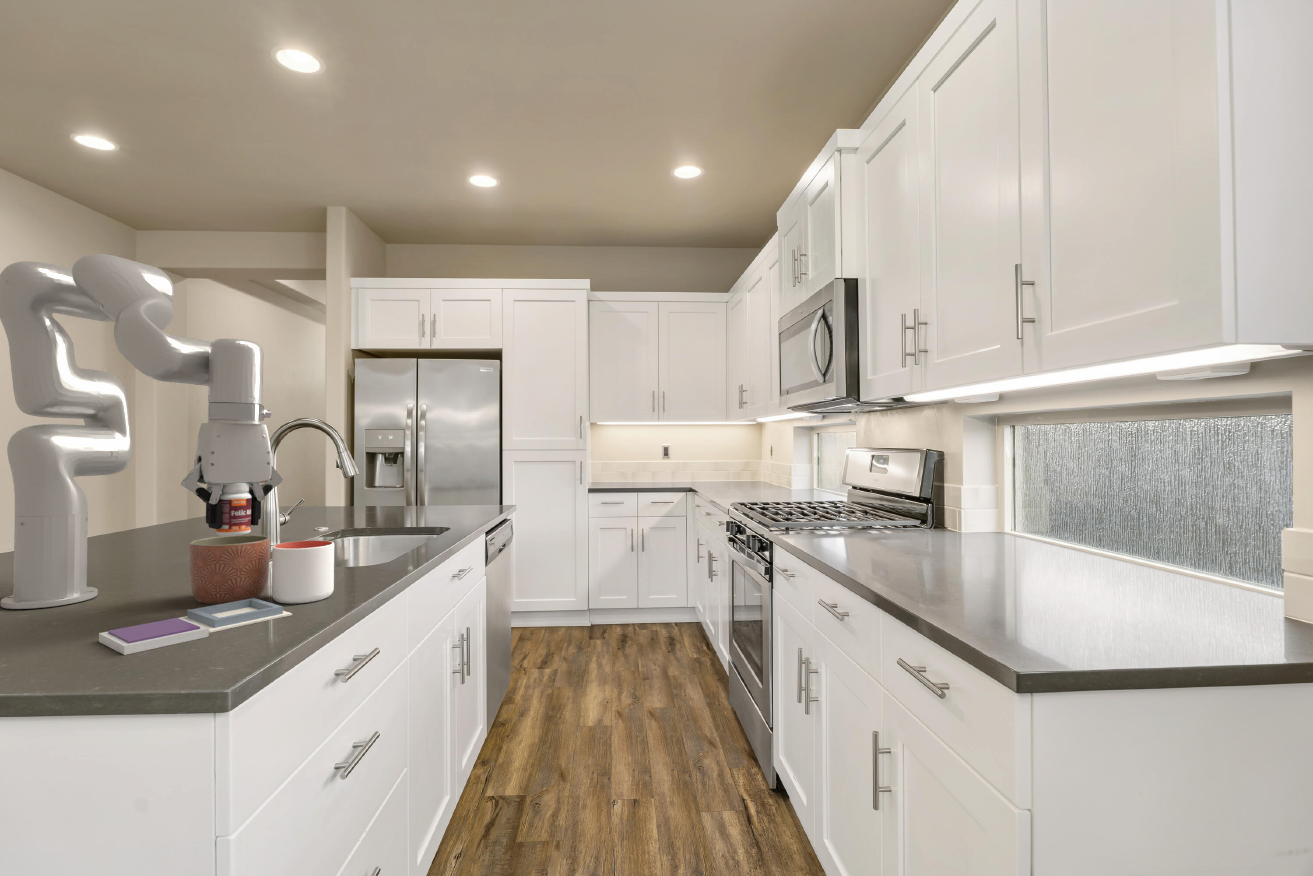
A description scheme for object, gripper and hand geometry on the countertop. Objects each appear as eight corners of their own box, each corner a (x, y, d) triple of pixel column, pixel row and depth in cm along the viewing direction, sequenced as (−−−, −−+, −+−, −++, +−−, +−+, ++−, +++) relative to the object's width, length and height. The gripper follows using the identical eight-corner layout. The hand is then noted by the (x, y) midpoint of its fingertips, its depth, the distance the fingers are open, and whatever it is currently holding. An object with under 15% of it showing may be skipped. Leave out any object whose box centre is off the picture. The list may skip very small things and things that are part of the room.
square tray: (177, 619, 103) (177, 610, 103) (257, 604, 113) (257, 596, 113) (210, 632, 96) (210, 622, 96) (292, 615, 106) (292, 606, 106)
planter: (192, 612, 108) (193, 547, 108) (185, 598, 117) (185, 538, 117) (276, 600, 116) (276, 540, 116) (263, 588, 125) (263, 533, 126)
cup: (273, 595, 120) (274, 542, 120) (333, 590, 125) (334, 539, 125) (269, 608, 111) (270, 550, 111) (333, 601, 116) (334, 546, 116)
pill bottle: (233, 536, 102) (234, 484, 102) (208, 535, 103) (209, 483, 103) (258, 532, 106) (259, 482, 106) (234, 531, 107) (235, 481, 107)
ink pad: (98, 641, 92) (99, 631, 92) (180, 625, 100) (180, 615, 100) (124, 655, 86) (124, 643, 86) (208, 636, 94) (208, 626, 94)
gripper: (279, 417, 114) (277, 519, 114) (164, 413, 100) (162, 530, 100) (300, 417, 109) (298, 523, 109) (184, 412, 95) (182, 534, 95)
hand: (233, 525), depth 104 cm, fingers closed on pill bottle, 4 cm apart
